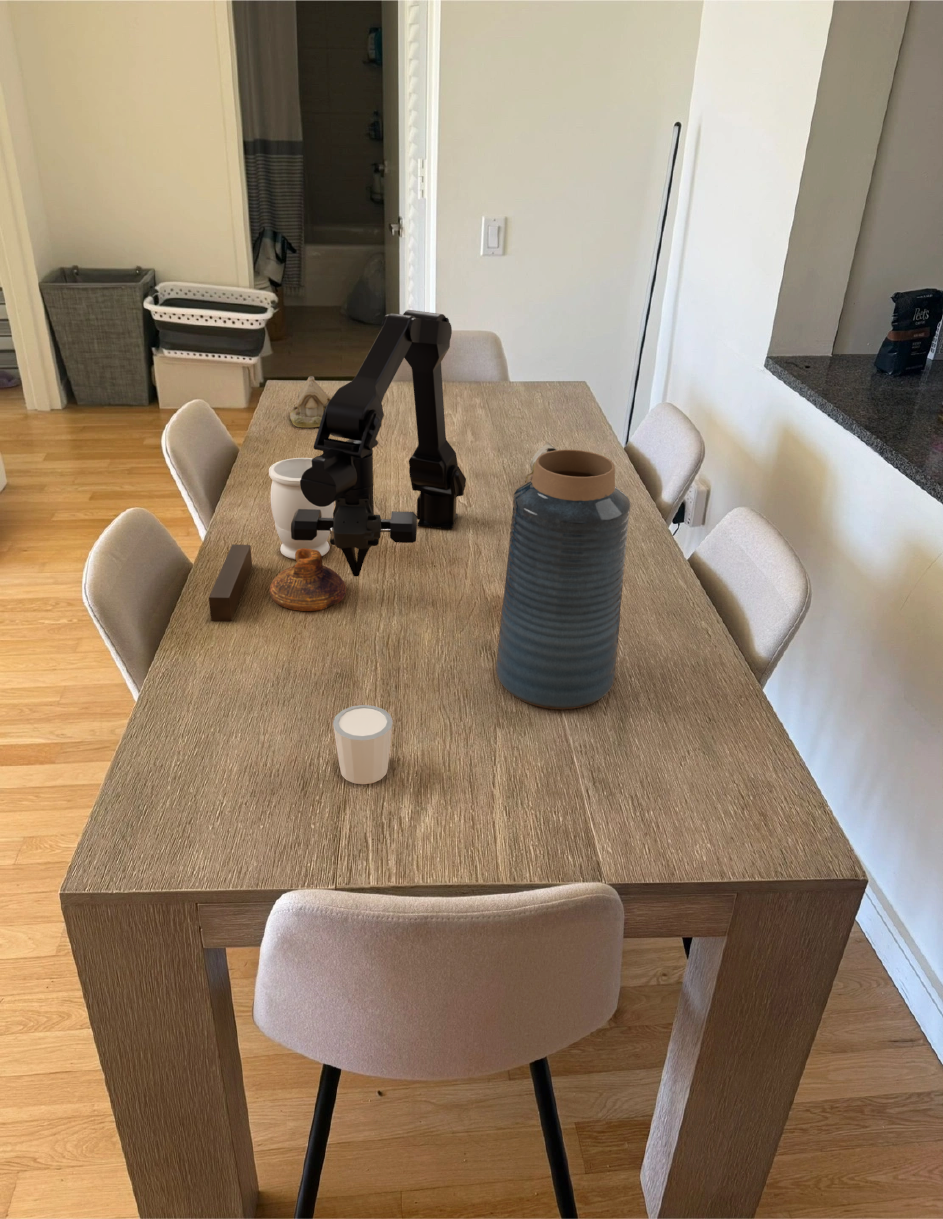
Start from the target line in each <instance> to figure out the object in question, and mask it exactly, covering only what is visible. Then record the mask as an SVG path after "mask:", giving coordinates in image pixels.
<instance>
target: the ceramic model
mask: <svg viewBox="0 0 943 1219" xmlns="http://www.w3.org/2000/svg"><path fill="white" fill-rule="evenodd" d="M331 398H332V396H330V395H329V394H328V393H327V392H326V391H325V390H324V389H323V388H322V386H320V384H319V383H318V382H317V381H316V379H315V377H314V376H313V375H312V376H311V375H309V376H308V378H307V379H306V381H305V383H304V384H303V385H302V386H300V389H299V391H297V393H296V404H295V406H293V407H292V408H291V410H290V412H289V417H290V420H291V423H292V424H293V425H294V427H297V428H319V426H320V423H321V419H322V416H323V412H324V409H325V407H326V405H327V404H328V402H329V401H330V399H331Z"/></svg>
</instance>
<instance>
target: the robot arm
mask: <svg viewBox="0 0 943 1219" xmlns="http://www.w3.org/2000/svg"><path fill="white" fill-rule="evenodd" d="M380 326H381V328H380V331H379V333H378V334H377V336H376V338H375V340H374V342H373V344H372V345H371V347H370V349H369V351H368V352H367V354H366V356H365V358H364V360H363V362H362V363H361V365H360V367H359V369H358V371H357V373H356V374H355V376H354V378H353V379H352V380H351V381H350V382H347V383H346V384H344V385H342V386H340V387H339V388H338V389H337V390H336V392H335V393H334V394H333V395H332V396H331V399H330V401H329V402H328V404H327V405H326V407H325V409H324V412H323V416H322V419H321V423H320V426H319V427H318V430H317V433H316V437H315V440H314V444H313V450H316V451H321V452H322V454H320V455H316V456H314V457H312V458H313V459H312V467H310V468H309V469H307V470H306V471H305V472H304V473H303V475H302V478H301V480H300V487H301V490H302V493H303V495H304V496H305V498H306V499H307V500H308V501H309V502H310V503H312V504H313V505H316V506H319V507H326V506H329V505H330V504H331V503H333V502H334V505H335V506H334V510H333V518H322V516H321V510H316V509H298V510H297V511H296V512H295V514H294V517H293V520H292V523H291V538H292V539H294V540H311V541H312V540H313V539H314V538H315V537H316V536H317V530H322V531H330V534H329V535H330V539H329V545H332V546H335V548H338V549H340V550H341V552H342V554H343V555H344V557H345V559H346V561H347V564H348V567H349V569H350V571H351V573H352V576H353V577H359V576H360V574H361V571H362V569H363V565H364V562H365V559H366V556H367V554H368V552H369V551H370V549H371V548H372V547H377V546H378V545H379V542H380V539H381V537H382V536H381V534H382V533H389V539H391V540H392V542H394V543H398V544H400V543H401V544H402V543H403V544H406V543H407V544H414V543H416V542H417V534H418V527H422V528H431V529H440V530H453V529H454V526H455V524H456V523H457V522H456V521H457V519H458V516H459V514H458V513H457V498H458V497H462V496H464V494H465V488H466V482H467V478H466V476H465V474H464V473H463V471H462V470H461V467H460V466H459V464H458V463H459V462H458V457H457V452H456V450H455V449H454V448H453V447H452V445H451V444H450V443H449V441H448V440H447V435H446V433H447V432H446V419H445V404H444V389H443V372H442V371H443V370H442V362H443V360H444V358H445V357H446V354H447V353H448V351H449V349H450V347H451V339H452V334H453V332H452V331H453V329H452V324H451V322H450V319H449V317H447V316H446V315H445V314H443V313H438V312H430V311H421V310H415V309H406V310H405V311H404V312H403V313H402V314H400V313H393V312H391V313H388V314H384V317H383V318H382V321H381V325H380ZM404 360H405V361H406V362H407V364H408V365H409V367H410V368H411V376H412V386H413V399H414V400H413V401H414V408H415V409H414V411H415V422H416V432H417V434H416V435H417V447H416V448H415V449H414V452H413V453H412V455H411V457H410V458H409V460H408V465H409V468H408V473H409V478H410V484H411V490H412V491H414V492H415V491H416V492H419V495H418V496H417V498H416V512H414V511H396V510H395V511H394V510H393V511H391V515H390V519H389V518H381V514H375V507H374V502H375V501H374V458H373V457H374V453H373V452H374V450H373V449H374V448H375V447H378V445H379V440H378V439H377V437H378V434H379V433H380V430H381V427H382V421H383V419H384V416H385V414H384V408H383V400H384V398H385V395H386V393H387V392H388V389H389V388H390V385H391V384H392V382H393V380H394V378H395V376H396V374H397V372H398V370H399V368H400V366H401V365H402V363H403V361H404ZM330 436H332V437H336V438H341V439H347V440H346V441H345V440H339V439H334V438H330ZM356 549H357V555H356Z"/></svg>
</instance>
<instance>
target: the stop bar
mask: <svg viewBox="0 0 943 1219" xmlns="http://www.w3.org/2000/svg"><path fill="white" fill-rule="evenodd" d="M252 568H253V558H252V546H251V544H231V546H230V548H229V550H228V553H227V555H226V557H225V559H224V562H223V564H222V566H221V569H220V571H219V573H218V575H217V578H216V580H215V583H214V584H213V587H212V589H211V591H210V594H209V596H208V604H209V614H210V621H212V622H233V619H234V616H235V613H236V610H237V607H238V604H239V603H240V599H241V597H242V594H243V592H244V590H245V586H246V584H247V581H248V579H249V576H250V574H251V571H252Z"/></svg>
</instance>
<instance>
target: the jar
mask: <svg viewBox="0 0 943 1219" xmlns="http://www.w3.org/2000/svg"><path fill="white" fill-rule="evenodd" d="M313 458H314V457H292V458H286V459H282V460H279V461H277V462H274V463H273V464H271V465H270V466H269V468H268V477H269V478H270V479H271V480H272V481H271V487H270V508H271V514H272V518H273V520H274V526H275V531H276V533H277V536H278V538H279V539H280V542H281V545H280V548H279V550H280V553H281V554H282V556H284V557H286V558H288V559H290V560H295V561H296V558H295V553H296V551H297V550H298V549H302V548H306V549H312V550H317V551H319V552H320V554H321V555H322V557H324V556H325V555H326V554H328V552H329V551H330V543H329V542H328V539H329V537H330V535H331V534H330V531H322V530H317V536H316V537H315V538H314V539H313V540H312V541H311V540H294V539H292V538H291V523H292V520H293V517H294V514H295V512H296V511H297V510H298V509H316V510H321V516H322V518H333V512H334V509H335V506H334V505H335V501H334V502H333V503H331V504H330V505H329V506H326V507H319V506H316V505H313V504H312V503H310V502H309V501H308V500H307V499H306V498H305V496H304V495H303V493H302V490H301V487H300V480H301V478H302V475H303V473H304V472H305V471H306V470H307V469H309V468H310V467H312V459H313Z"/></svg>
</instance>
